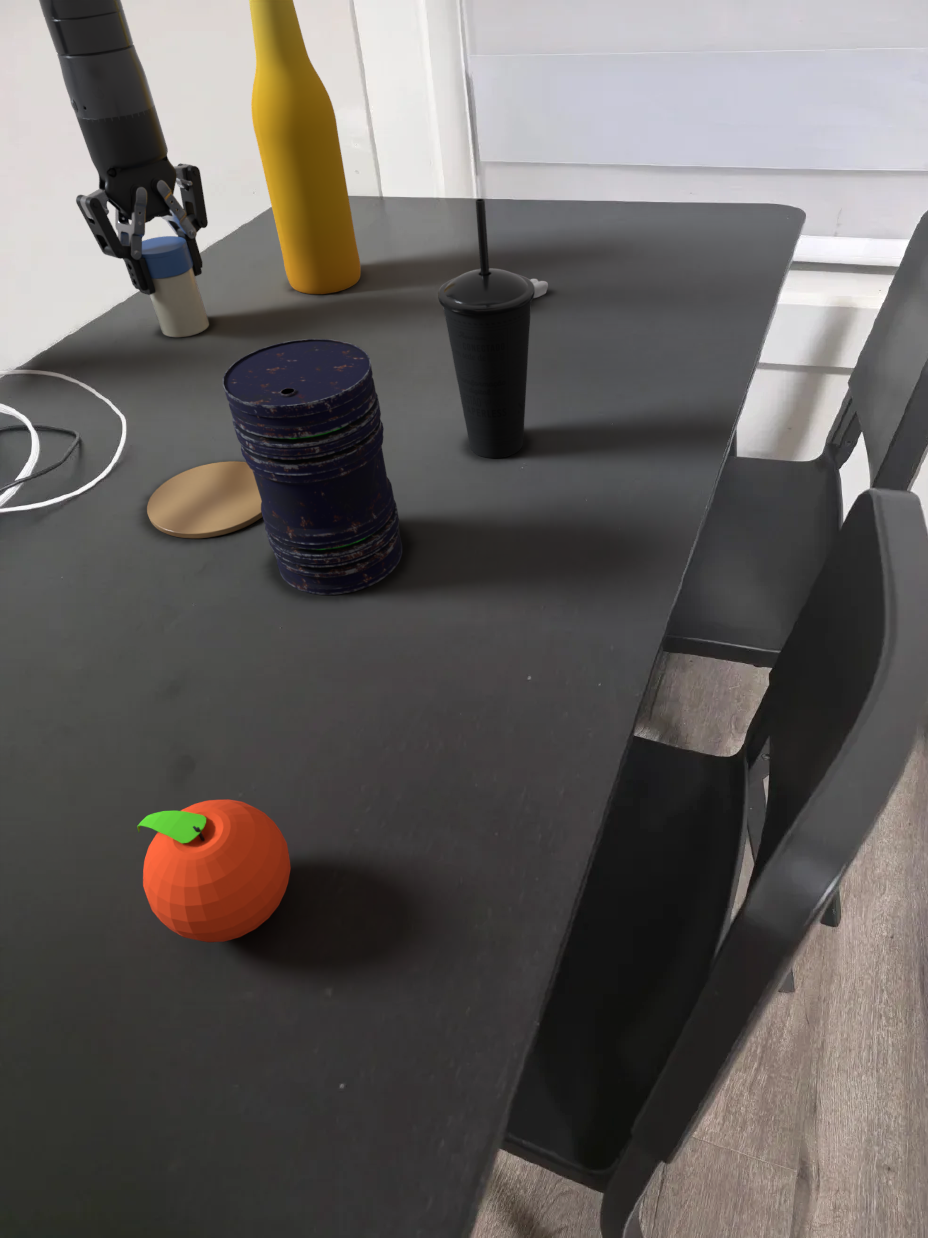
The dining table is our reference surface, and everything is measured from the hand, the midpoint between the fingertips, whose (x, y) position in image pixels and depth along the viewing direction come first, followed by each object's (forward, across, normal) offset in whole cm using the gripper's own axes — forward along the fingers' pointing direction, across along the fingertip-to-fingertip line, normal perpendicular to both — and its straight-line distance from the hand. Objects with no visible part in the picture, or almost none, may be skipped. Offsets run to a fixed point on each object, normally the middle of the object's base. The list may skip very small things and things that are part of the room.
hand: (171, 282), depth 95 cm
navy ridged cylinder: (+6, -21, -47) cm, 52 cm away
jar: (+5, 0, 0) cm, 5 cm away
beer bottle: (+5, +19, -4) cm, 20 cm away
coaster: (+5, -22, -32) cm, 39 cm away
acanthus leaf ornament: (+5, +26, -28) cm, 38 cm away
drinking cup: (+6, -2, -47) cm, 47 cm away
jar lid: (-4, 0, 0) cm, 4 cm away
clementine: (+6, -46, -64) cm, 79 cm away
